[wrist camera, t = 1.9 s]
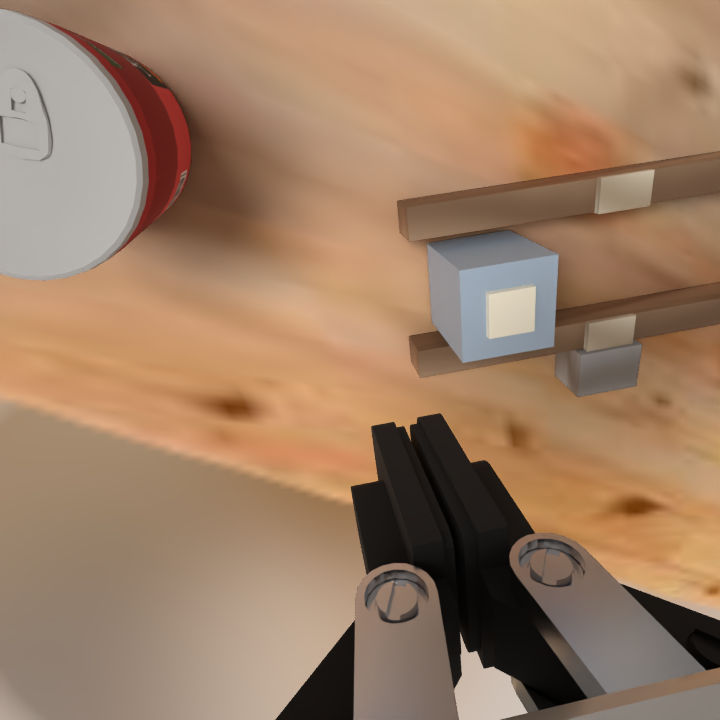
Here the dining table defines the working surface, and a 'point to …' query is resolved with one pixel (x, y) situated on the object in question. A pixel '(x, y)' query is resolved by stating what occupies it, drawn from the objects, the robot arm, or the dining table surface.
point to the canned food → (80, 149)
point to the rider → (493, 294)
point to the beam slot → (584, 323)
